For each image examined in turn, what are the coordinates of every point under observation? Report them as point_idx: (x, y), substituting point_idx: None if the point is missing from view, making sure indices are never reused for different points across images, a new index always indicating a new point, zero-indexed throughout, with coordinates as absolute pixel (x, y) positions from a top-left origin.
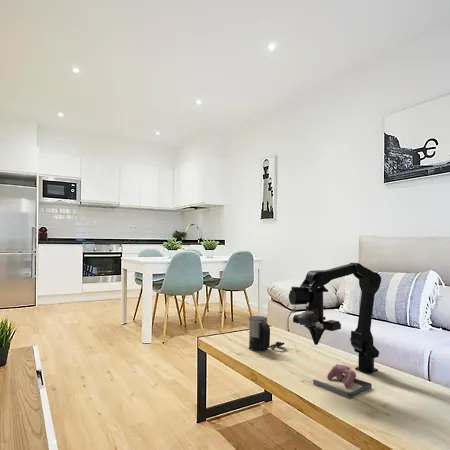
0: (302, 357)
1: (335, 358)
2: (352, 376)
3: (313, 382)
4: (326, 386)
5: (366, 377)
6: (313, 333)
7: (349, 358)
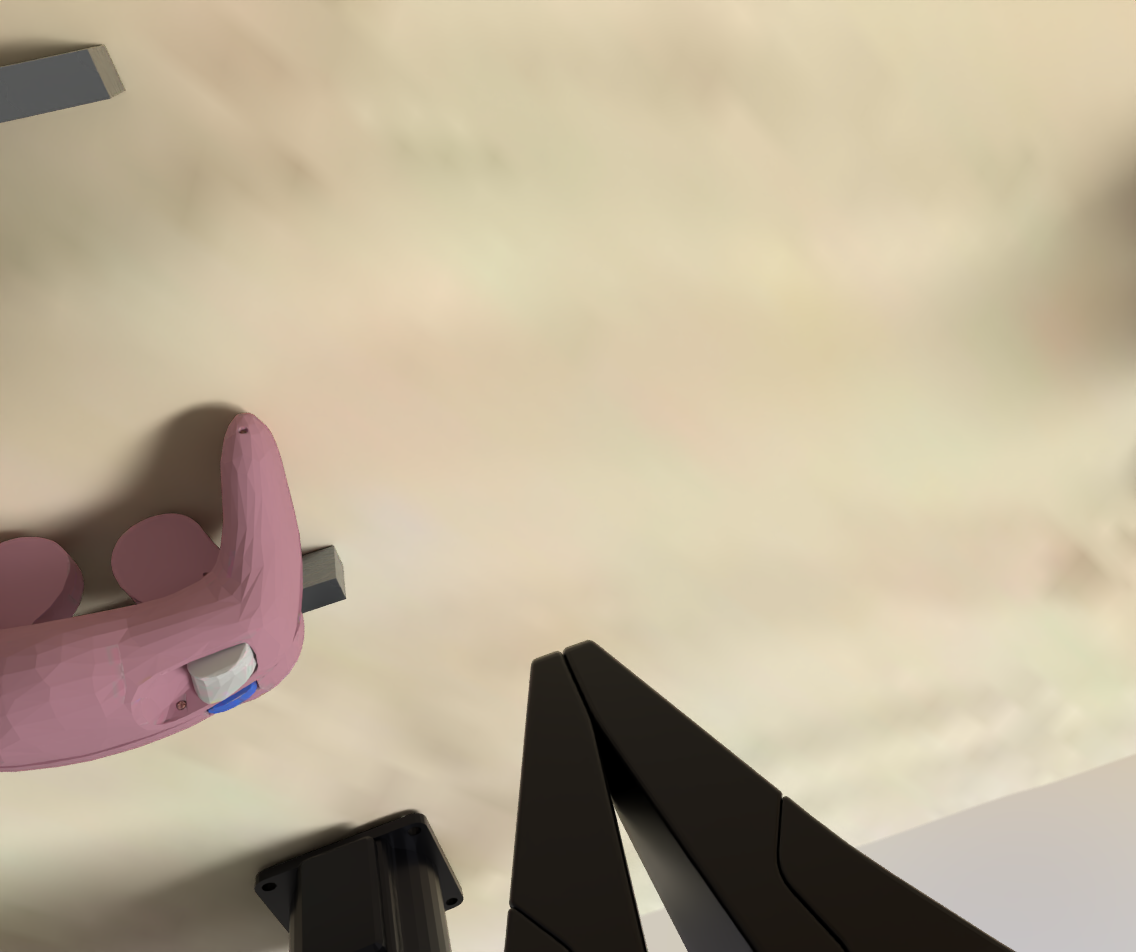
0: (947, 523)
1: None
2: None
3: (93, 47)
4: None
5: (179, 817)
6: (743, 949)
7: None
